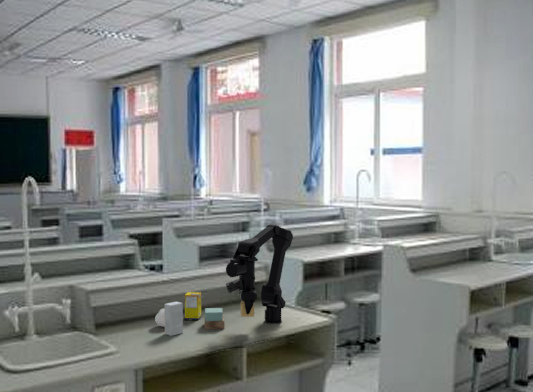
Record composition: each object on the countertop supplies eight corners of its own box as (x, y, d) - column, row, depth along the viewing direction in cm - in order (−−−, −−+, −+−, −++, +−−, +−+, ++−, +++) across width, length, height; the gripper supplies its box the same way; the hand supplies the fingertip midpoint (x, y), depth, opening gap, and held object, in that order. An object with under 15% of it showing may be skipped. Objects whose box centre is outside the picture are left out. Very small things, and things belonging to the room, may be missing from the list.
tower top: (222, 316, 244) (222, 308, 244) (222, 320, 238) (222, 312, 237) (205, 316, 244) (205, 308, 244) (205, 321, 237) (205, 312, 237)
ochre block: (253, 313, 236) (253, 300, 236) (254, 316, 231) (254, 303, 231) (240, 313, 236) (240, 301, 236) (241, 316, 231) (241, 304, 231)
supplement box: (201, 316, 256) (201, 291, 255) (198, 320, 250) (198, 294, 249) (187, 316, 256) (187, 291, 256) (184, 319, 250) (184, 294, 250)
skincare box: (176, 330, 234) (176, 301, 233) (183, 333, 231) (183, 303, 230) (164, 333, 230) (164, 303, 229) (170, 336, 227) (170, 305, 226)
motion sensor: (164, 323, 245) (163, 304, 245) (178, 325, 242) (178, 307, 241) (151, 327, 238) (151, 308, 238) (166, 330, 235) (166, 311, 234)
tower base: (224, 324, 245) (224, 315, 245) (224, 329, 237) (224, 321, 237) (204, 324, 245) (204, 316, 244) (204, 330, 237) (204, 321, 236)
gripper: (226, 269, 241) (226, 306, 242) (227, 278, 223) (227, 318, 224) (253, 269, 242) (253, 306, 243) (257, 277, 224) (257, 318, 225)
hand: (247, 312), depth 234 cm, fingers closed on ochre block, 5 cm apart
